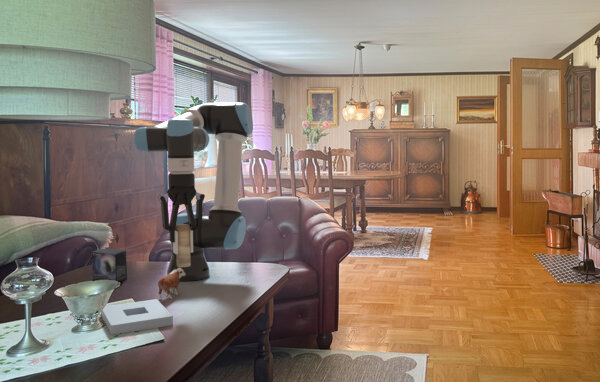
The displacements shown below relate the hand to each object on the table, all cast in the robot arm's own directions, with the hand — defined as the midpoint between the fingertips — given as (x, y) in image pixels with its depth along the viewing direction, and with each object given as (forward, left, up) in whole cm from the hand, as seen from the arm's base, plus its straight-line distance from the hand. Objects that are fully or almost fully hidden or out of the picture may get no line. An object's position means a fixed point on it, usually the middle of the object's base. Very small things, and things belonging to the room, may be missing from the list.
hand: (183, 252), depth 168 cm
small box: (-46, -14, -17) cm, 51 cm away
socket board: (+4, -15, -17) cm, 23 cm away
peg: (0, 0, -4) cm, 4 cm away
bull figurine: (-15, 0, -17) cm, 23 cm away
